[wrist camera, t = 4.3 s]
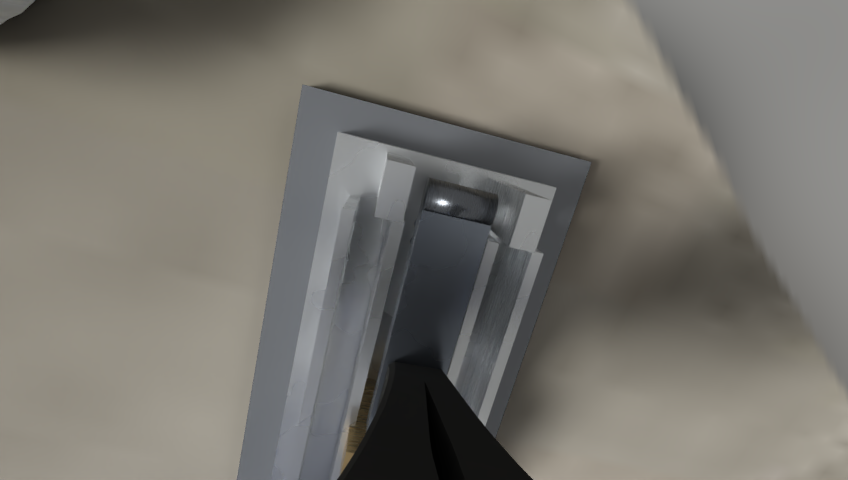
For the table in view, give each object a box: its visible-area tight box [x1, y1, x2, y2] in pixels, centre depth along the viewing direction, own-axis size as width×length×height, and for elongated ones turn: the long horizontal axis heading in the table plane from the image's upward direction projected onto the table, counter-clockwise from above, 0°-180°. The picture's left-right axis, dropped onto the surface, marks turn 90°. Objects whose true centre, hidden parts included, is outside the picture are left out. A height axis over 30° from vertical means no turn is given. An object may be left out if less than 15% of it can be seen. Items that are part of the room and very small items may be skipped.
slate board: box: [237, 84, 591, 480], centre depth 14 cm, size 18×9×1 cm, turn 166°
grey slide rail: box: [271, 132, 556, 480], centre depth 12 cm, size 16×6×4 cm, turn 166°
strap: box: [366, 177, 498, 432], centre depth 10 cm, size 7×2×1 cm, turn 166°
